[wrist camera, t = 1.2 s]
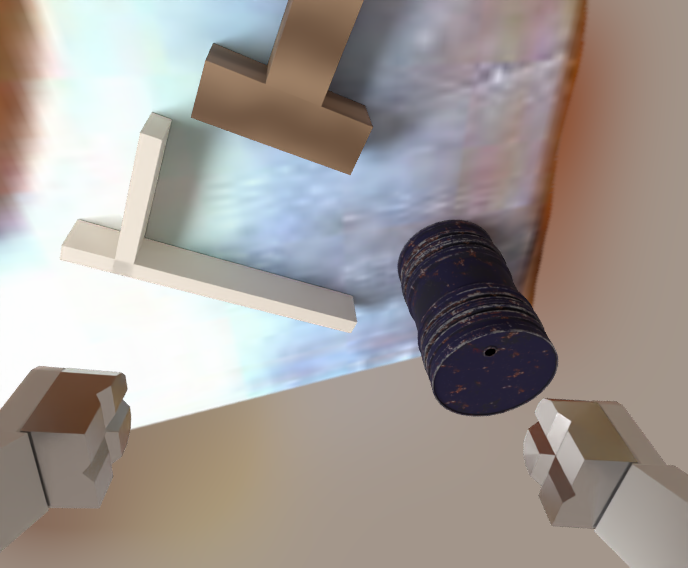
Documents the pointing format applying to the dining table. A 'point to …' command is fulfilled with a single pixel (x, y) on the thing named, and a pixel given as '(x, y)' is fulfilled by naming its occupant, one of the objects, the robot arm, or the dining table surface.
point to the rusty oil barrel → (473, 322)
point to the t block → (290, 88)
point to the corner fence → (193, 254)
